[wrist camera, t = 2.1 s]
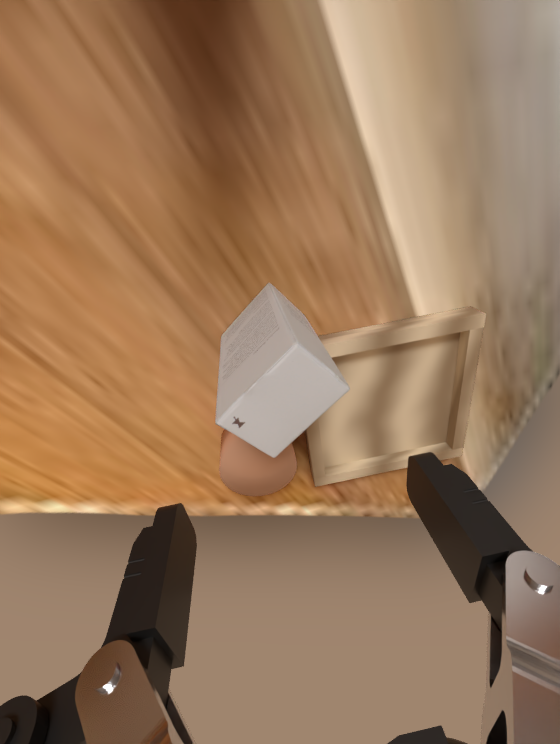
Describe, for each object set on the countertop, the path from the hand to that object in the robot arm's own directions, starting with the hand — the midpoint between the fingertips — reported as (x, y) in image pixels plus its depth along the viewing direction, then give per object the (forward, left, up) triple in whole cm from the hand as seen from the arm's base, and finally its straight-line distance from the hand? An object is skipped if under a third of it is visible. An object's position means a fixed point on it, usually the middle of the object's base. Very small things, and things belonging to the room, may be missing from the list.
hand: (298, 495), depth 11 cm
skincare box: (0, 0, -18) cm, 18 cm away
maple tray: (-10, +10, -17) cm, 23 cm away
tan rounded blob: (+3, +12, -18) cm, 22 cm away
